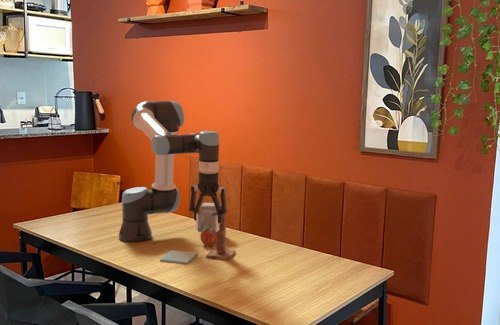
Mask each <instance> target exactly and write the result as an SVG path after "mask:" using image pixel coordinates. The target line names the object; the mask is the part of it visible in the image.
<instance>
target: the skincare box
mask: <svg viewBox="0 0 500 325" xmlns="http://www.w3.org/2000/svg"><path fill="white" fill-rule="evenodd" d="M200 210H208V211H216V208H215V205H214V202H202V204H201V206H200ZM212 219H213V216H206V215H204V221H203V227H206V226H209V224H210V225H212Z"/></svg>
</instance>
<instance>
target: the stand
mask: <svg viewBox="0 0 500 325" xmlns="http://www.w3.org/2000/svg"><path fill="white" fill-rule="evenodd" d="M219 204H220V207H221V203H219ZM221 210H222V207H221ZM226 217H227V212H226V213H225V214H222V222H221V223H219V231H218V232H217V243H216V247H213V248H212V249H211V250H210V251H209V252H207V254H206V257H205V258H206V259H211V258H212V259H213V260H224V261H230V260H231V259H232V257H233V256H234V255H235V254H236V249H227V248H226V240H227V239H226V236H227V235H226V231H227V230H226V229H227V228H226V226H227V223H226V222H227V221H226V219H227V218H226ZM211 228H212V226H211Z"/></svg>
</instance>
